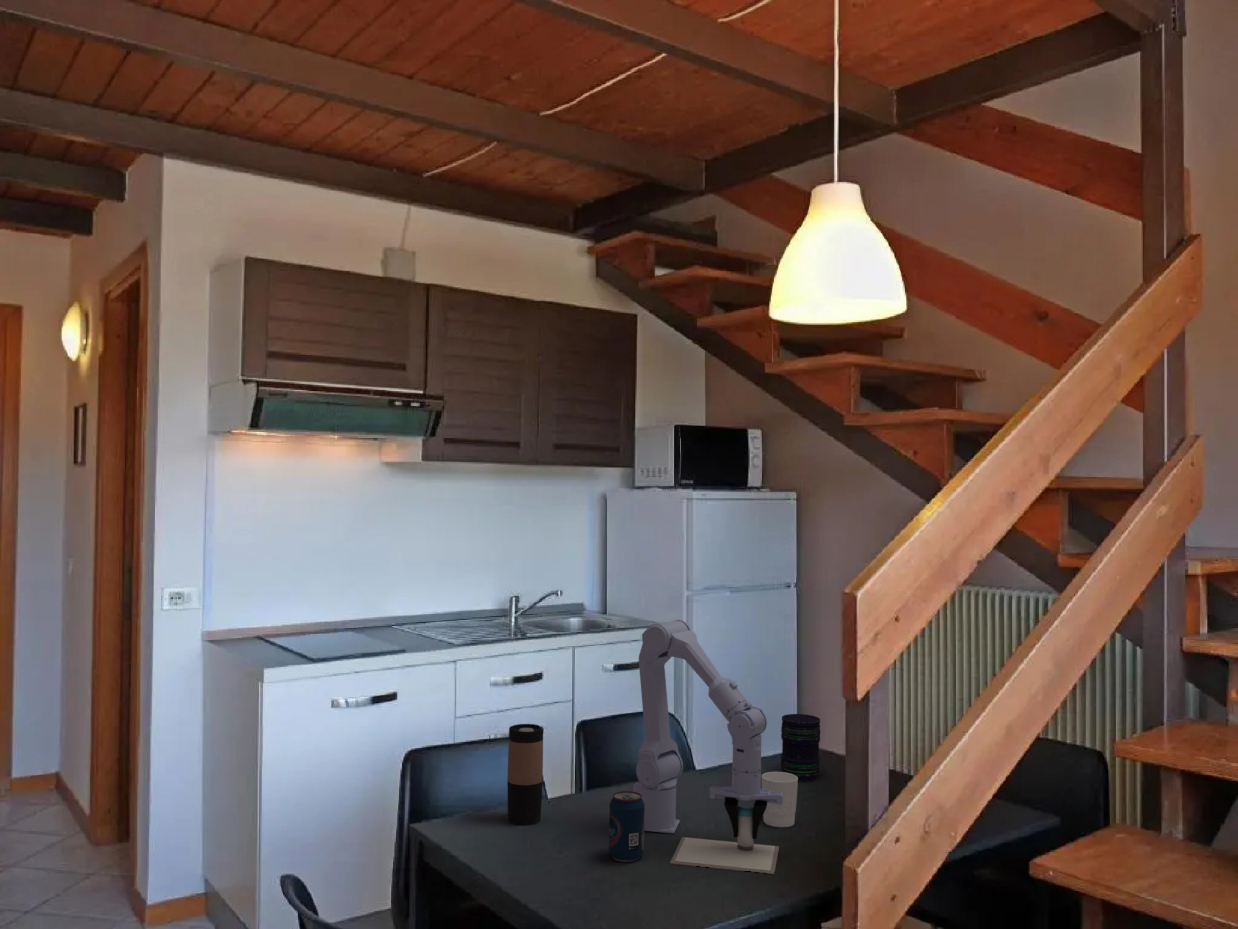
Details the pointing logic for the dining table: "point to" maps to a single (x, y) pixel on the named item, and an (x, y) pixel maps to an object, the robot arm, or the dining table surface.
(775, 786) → the white cup
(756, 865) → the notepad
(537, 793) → the travel mug
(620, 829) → the soda can
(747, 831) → the marker
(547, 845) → the dining table surface
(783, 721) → the storage jar
